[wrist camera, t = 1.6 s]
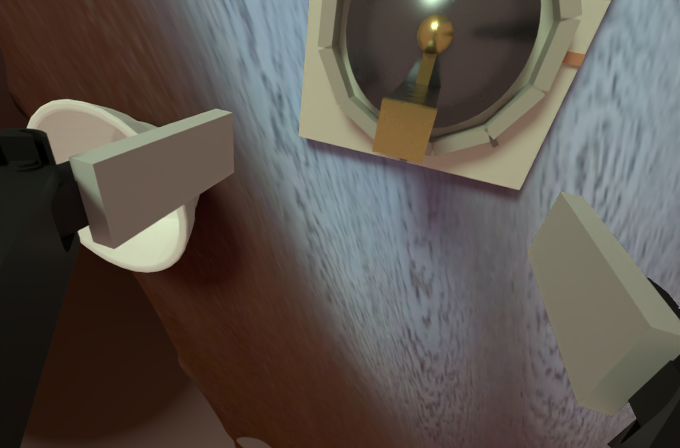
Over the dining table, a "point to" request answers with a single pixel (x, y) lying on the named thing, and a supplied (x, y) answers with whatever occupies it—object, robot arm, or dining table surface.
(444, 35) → the dial
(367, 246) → the dining table surface
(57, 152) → the bowl
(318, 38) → the dial board
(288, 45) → the dining table surface
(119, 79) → the dining table surface
